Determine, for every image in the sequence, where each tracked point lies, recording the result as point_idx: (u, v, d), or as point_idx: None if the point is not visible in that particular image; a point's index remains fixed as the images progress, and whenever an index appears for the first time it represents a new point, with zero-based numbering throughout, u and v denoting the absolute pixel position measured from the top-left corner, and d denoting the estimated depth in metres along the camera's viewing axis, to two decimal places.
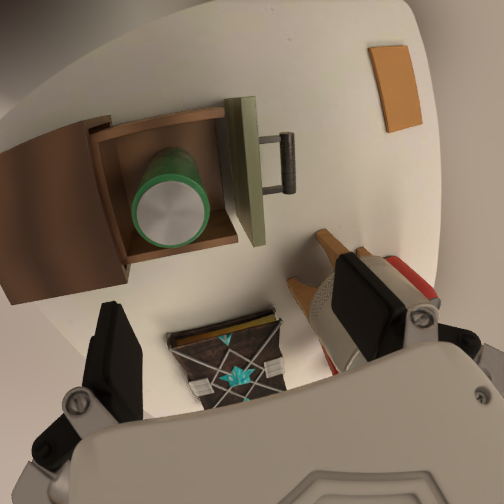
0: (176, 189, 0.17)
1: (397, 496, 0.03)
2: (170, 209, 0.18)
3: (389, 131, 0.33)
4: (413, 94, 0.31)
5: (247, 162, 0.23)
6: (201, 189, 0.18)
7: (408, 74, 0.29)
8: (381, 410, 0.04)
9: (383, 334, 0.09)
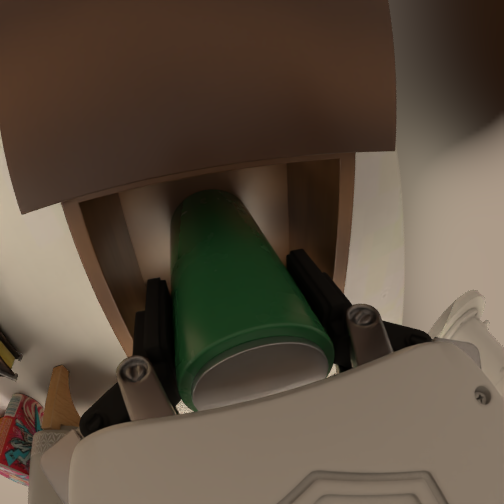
0: None
1: (397, 496, 0.03)
2: (273, 388, 0.08)
3: None
4: None
5: None
6: None
7: None
8: (381, 410, 0.04)
9: (325, 330, 0.10)
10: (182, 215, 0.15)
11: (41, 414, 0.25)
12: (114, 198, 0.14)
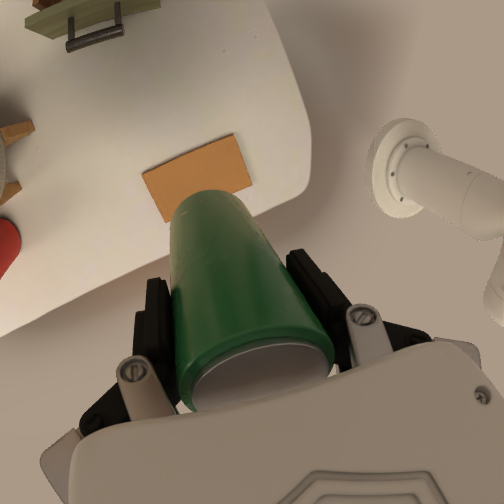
0: None
1: (397, 496, 0.03)
2: (274, 389, 0.08)
3: (143, 175, 0.32)
4: None
5: None
6: None
7: (217, 189, 0.35)
8: (381, 410, 0.04)
9: (325, 330, 0.10)
10: (182, 215, 0.15)
11: None
12: None
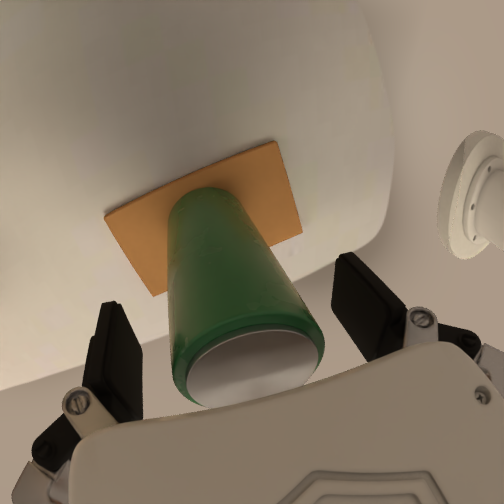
0: (300, 376, 0.09)
1: (397, 496, 0.03)
2: (265, 376, 0.09)
3: (106, 217, 0.17)
4: None
5: None
6: None
7: None
8: (381, 410, 0.04)
9: (383, 334, 0.09)
10: (179, 211, 0.15)
11: None
12: None
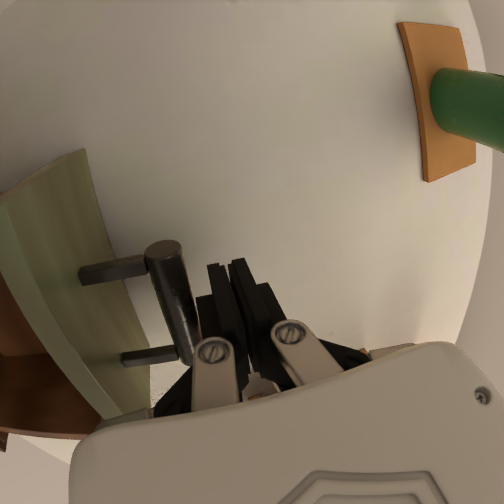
0: None
1: (397, 496, 0.03)
2: None
3: (428, 180, 0.18)
4: None
5: (53, 357, 0.08)
6: None
7: None
8: (381, 410, 0.04)
9: (256, 345, 0.09)
10: (455, 122, 0.14)
11: None
12: (12, 367, 0.14)
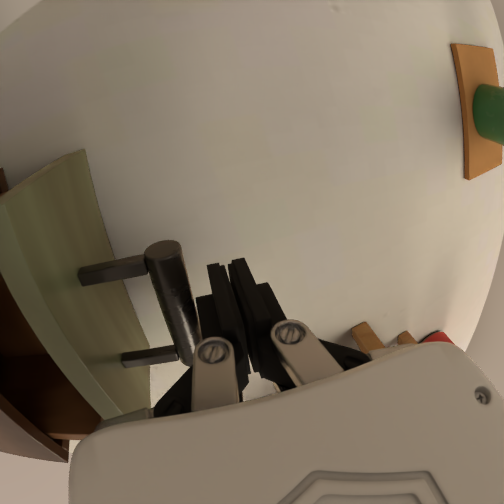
0: None
1: (397, 496, 0.03)
2: None
3: (469, 178, 0.19)
4: None
5: (53, 357, 0.08)
6: None
7: None
8: (381, 410, 0.04)
9: (256, 345, 0.09)
10: (494, 130, 0.15)
11: None
12: (12, 367, 0.14)
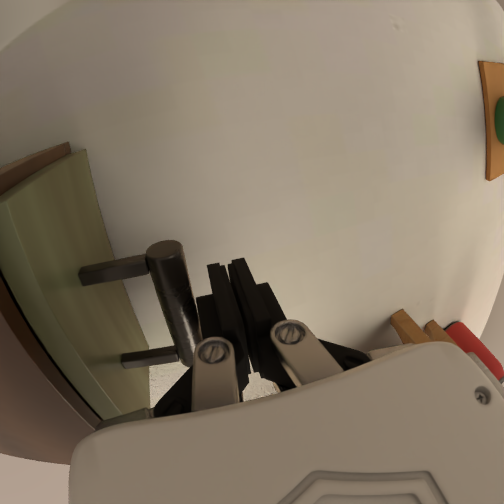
0: None
1: (397, 496, 0.03)
2: None
3: (490, 179, 0.20)
4: None
5: (53, 357, 0.08)
6: None
7: None
8: (381, 410, 0.04)
9: (256, 345, 0.09)
10: None
11: None
12: None
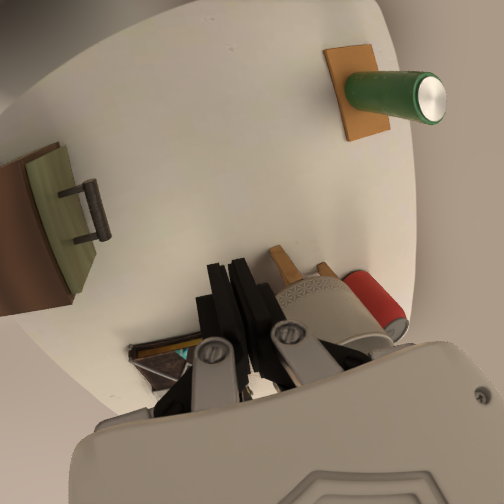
0: (437, 84, 0.18)
1: (397, 496, 0.03)
2: (434, 95, 0.19)
3: (349, 140, 0.32)
4: None
5: (42, 221, 0.20)
6: None
7: None
8: (381, 410, 0.04)
9: (256, 345, 0.09)
10: (358, 103, 0.28)
11: None
12: None
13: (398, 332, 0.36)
